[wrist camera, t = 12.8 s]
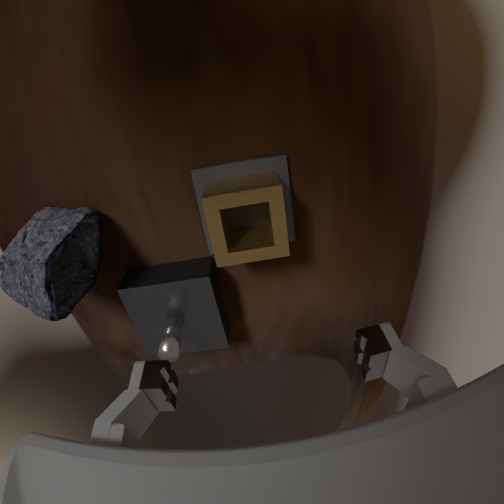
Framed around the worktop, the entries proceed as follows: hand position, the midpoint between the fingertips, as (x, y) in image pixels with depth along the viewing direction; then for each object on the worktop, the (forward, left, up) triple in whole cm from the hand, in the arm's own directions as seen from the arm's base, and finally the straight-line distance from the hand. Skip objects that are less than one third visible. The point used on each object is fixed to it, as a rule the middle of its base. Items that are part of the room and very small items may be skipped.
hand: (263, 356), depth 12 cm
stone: (0, -20, -20) cm, 28 cm away
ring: (0, 0, -19) cm, 19 cm away
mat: (0, 0, -20) cm, 20 cm away
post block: (+10, -9, -20) cm, 24 cm away
